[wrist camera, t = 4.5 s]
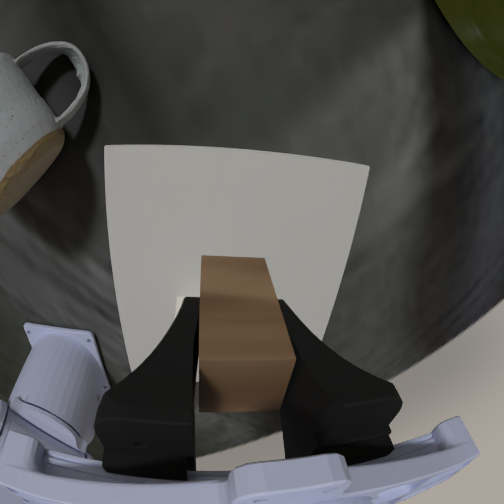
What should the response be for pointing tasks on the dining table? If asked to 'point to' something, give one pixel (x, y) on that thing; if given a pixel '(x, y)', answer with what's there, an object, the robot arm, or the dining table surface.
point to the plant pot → (479, 29)
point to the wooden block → (241, 337)
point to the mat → (224, 228)
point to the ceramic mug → (31, 122)
